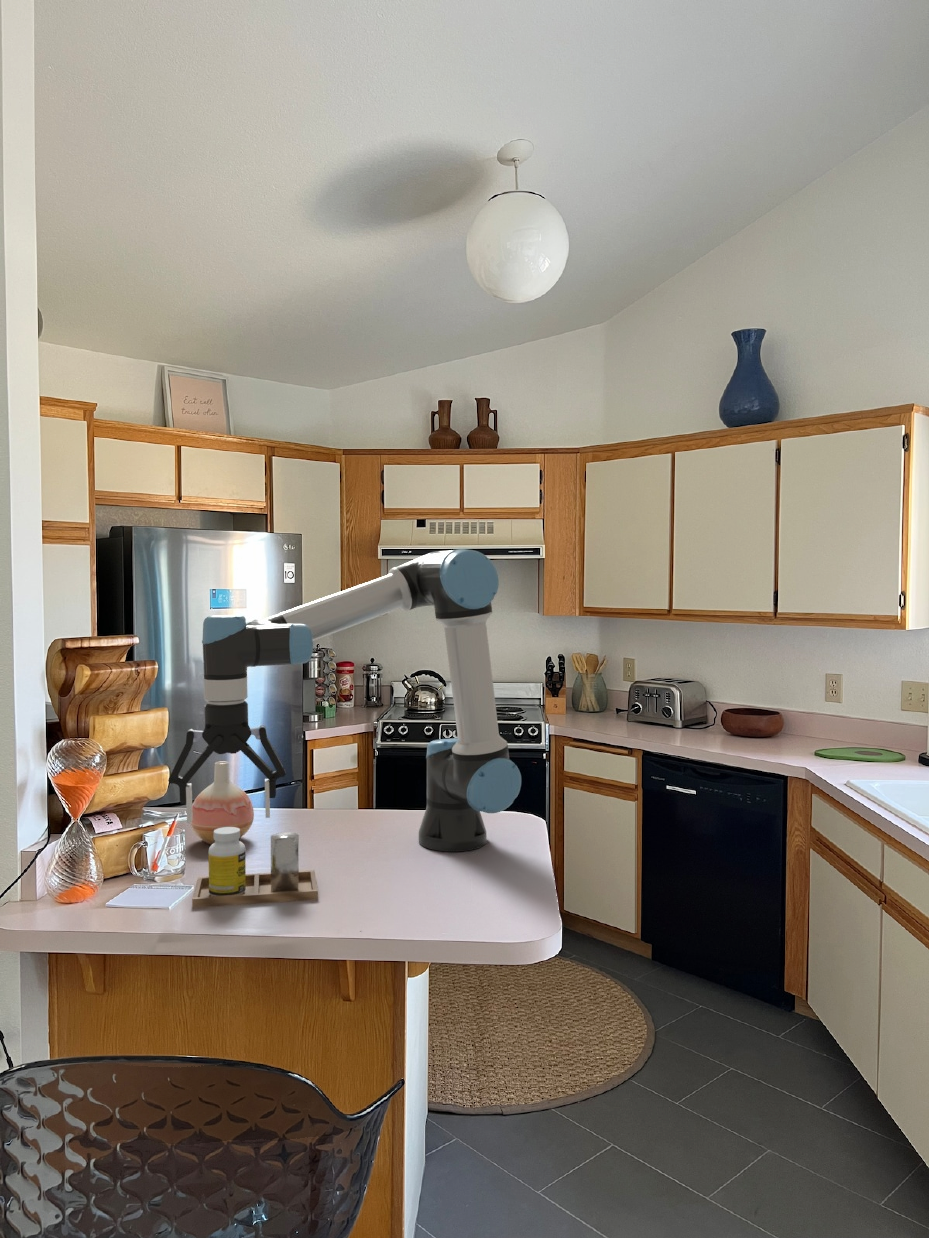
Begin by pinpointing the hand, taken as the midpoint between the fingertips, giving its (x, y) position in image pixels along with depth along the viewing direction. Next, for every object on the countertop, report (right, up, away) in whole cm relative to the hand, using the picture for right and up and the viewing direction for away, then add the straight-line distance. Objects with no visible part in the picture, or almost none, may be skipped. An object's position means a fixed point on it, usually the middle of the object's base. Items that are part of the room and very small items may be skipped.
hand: (229, 818), depth 160 cm
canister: (+9, -14, +3) cm, 17 cm away
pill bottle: (0, -14, 0) cm, 14 cm away
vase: (-11, -14, +36) cm, 40 cm away
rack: (+5, -15, +2) cm, 16 cm away
